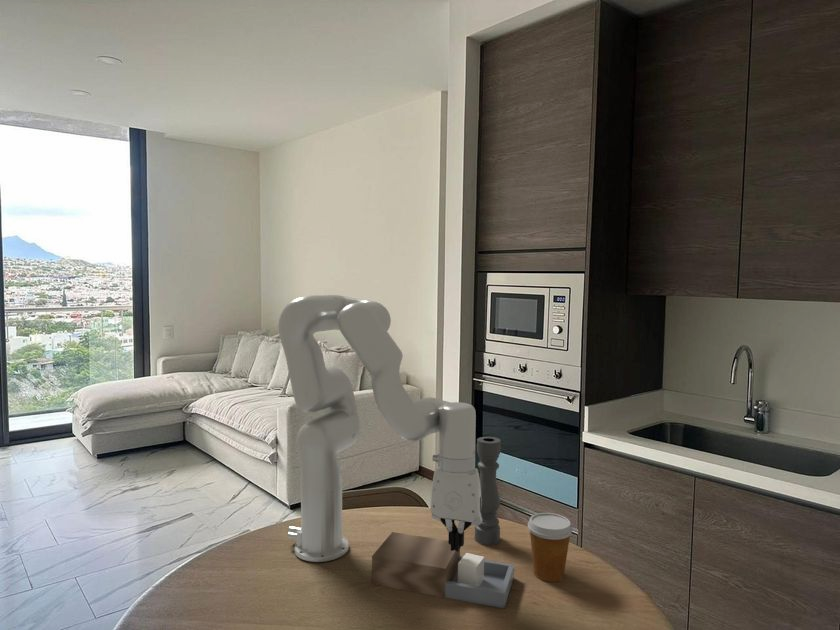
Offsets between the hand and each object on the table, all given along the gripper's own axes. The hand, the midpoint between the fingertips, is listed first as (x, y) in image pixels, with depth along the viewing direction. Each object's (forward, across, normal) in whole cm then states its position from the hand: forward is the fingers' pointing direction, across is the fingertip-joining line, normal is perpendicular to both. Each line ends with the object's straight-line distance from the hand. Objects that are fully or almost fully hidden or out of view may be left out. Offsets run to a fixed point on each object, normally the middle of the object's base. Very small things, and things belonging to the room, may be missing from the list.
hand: (456, 548), depth 119 cm
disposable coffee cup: (+8, +18, +10) cm, 22 cm away
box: (+8, +5, 0) cm, 9 cm away
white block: (+5, +1, 0) cm, 5 cm away
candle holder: (+8, +2, +22) cm, 23 cm away
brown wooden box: (+8, -9, 0) cm, 12 cm away
